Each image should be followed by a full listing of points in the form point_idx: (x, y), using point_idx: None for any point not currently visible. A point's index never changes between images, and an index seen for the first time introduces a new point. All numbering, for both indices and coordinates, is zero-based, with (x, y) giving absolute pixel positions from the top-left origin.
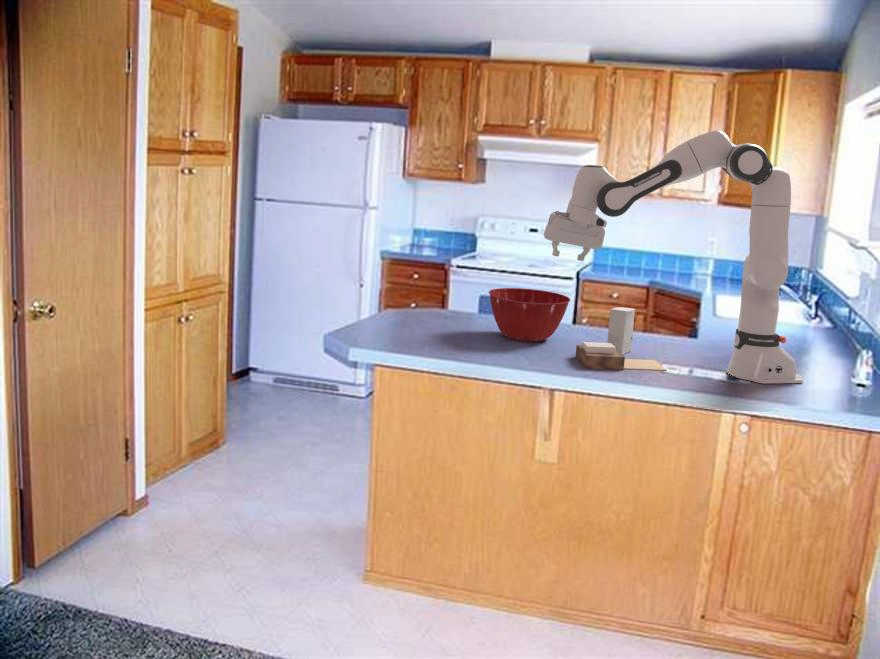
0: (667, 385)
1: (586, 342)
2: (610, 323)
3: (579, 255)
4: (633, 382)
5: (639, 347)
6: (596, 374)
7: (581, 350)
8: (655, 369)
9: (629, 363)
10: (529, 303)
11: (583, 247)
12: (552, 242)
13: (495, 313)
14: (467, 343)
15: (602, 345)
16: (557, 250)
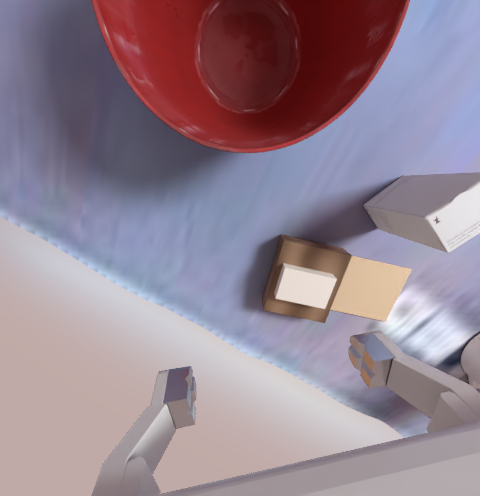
0: (331, 376)
1: (289, 272)
2: (399, 215)
3: (369, 367)
4: (293, 362)
5: (466, 166)
6: (261, 327)
7: (273, 276)
8: (368, 317)
9: (349, 285)
10: (197, 142)
11: (455, 414)
12: (99, 485)
13: (141, 29)
14: (99, 114)
15: (308, 294)
16: (170, 435)
